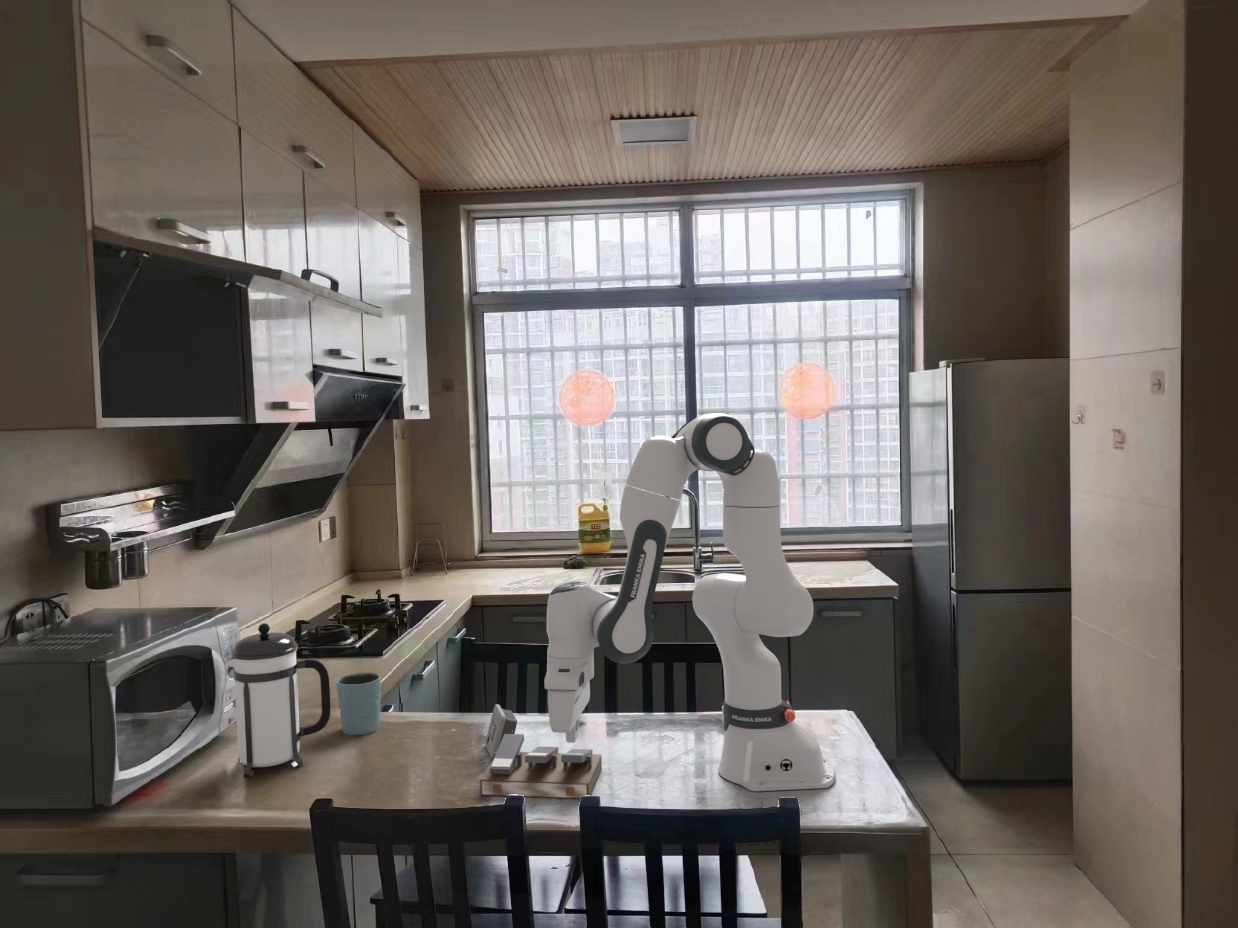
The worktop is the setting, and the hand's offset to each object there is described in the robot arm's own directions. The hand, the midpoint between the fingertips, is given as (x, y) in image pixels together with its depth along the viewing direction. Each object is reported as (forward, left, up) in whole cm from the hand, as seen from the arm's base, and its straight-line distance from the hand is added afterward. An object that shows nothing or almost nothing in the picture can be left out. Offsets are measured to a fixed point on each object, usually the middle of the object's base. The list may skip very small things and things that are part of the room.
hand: (572, 739), depth 164 cm
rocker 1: (+14, -3, -4) cm, 15 cm away
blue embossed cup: (+57, -29, -10) cm, 64 cm away
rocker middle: (+7, -3, -4) cm, 8 cm away
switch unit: (+7, -3, -10) cm, 12 cm away
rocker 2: (0, -3, -4) cm, 5 cm away
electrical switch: (+20, -18, -10) cm, 29 cm away
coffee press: (+66, -8, -10) cm, 67 cm away
